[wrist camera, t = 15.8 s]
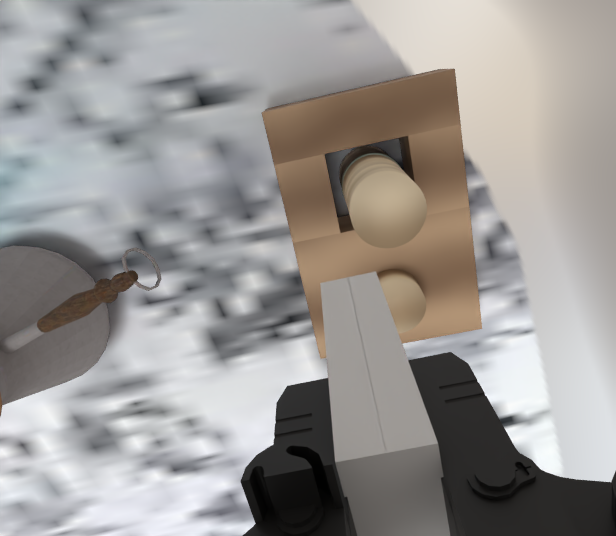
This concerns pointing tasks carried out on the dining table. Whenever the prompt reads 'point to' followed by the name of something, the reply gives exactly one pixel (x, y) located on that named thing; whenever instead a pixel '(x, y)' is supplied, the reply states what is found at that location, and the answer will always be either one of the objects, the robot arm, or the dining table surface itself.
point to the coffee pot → (52, 318)
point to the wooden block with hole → (417, 165)
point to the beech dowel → (381, 198)
